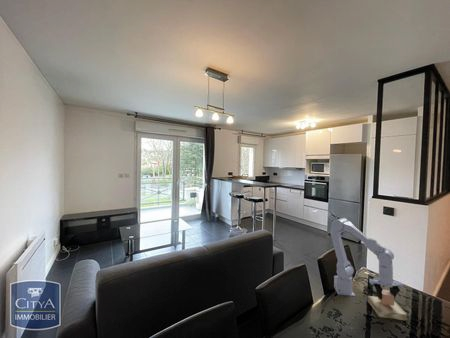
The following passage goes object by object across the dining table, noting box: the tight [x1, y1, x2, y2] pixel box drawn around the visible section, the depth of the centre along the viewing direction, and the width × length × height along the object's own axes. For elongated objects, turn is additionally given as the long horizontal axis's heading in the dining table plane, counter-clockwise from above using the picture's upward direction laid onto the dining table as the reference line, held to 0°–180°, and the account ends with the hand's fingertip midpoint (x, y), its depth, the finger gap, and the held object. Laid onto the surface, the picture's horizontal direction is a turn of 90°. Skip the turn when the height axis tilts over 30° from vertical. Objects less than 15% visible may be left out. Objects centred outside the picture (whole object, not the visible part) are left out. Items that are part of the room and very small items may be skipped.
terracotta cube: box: [377, 289, 395, 306], centre depth 103 cm, size 5×5×5 cm
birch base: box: [367, 295, 408, 321], centre depth 103 cm, size 12×12×3 cm
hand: (386, 298), depth 103 cm, fingers closed on terracotta cube, 5 cm apart
